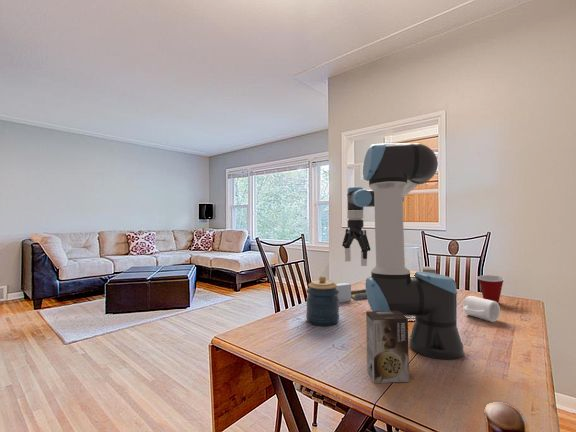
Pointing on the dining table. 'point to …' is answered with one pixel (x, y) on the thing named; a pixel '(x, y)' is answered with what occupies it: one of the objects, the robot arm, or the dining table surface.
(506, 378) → the dining table surface
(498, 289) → the plastic cup
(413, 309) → the robot arm
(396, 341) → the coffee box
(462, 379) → the dining table surface
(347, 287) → the white rectangular block
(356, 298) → the grey rectangular tray
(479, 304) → the mug
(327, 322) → the canister
